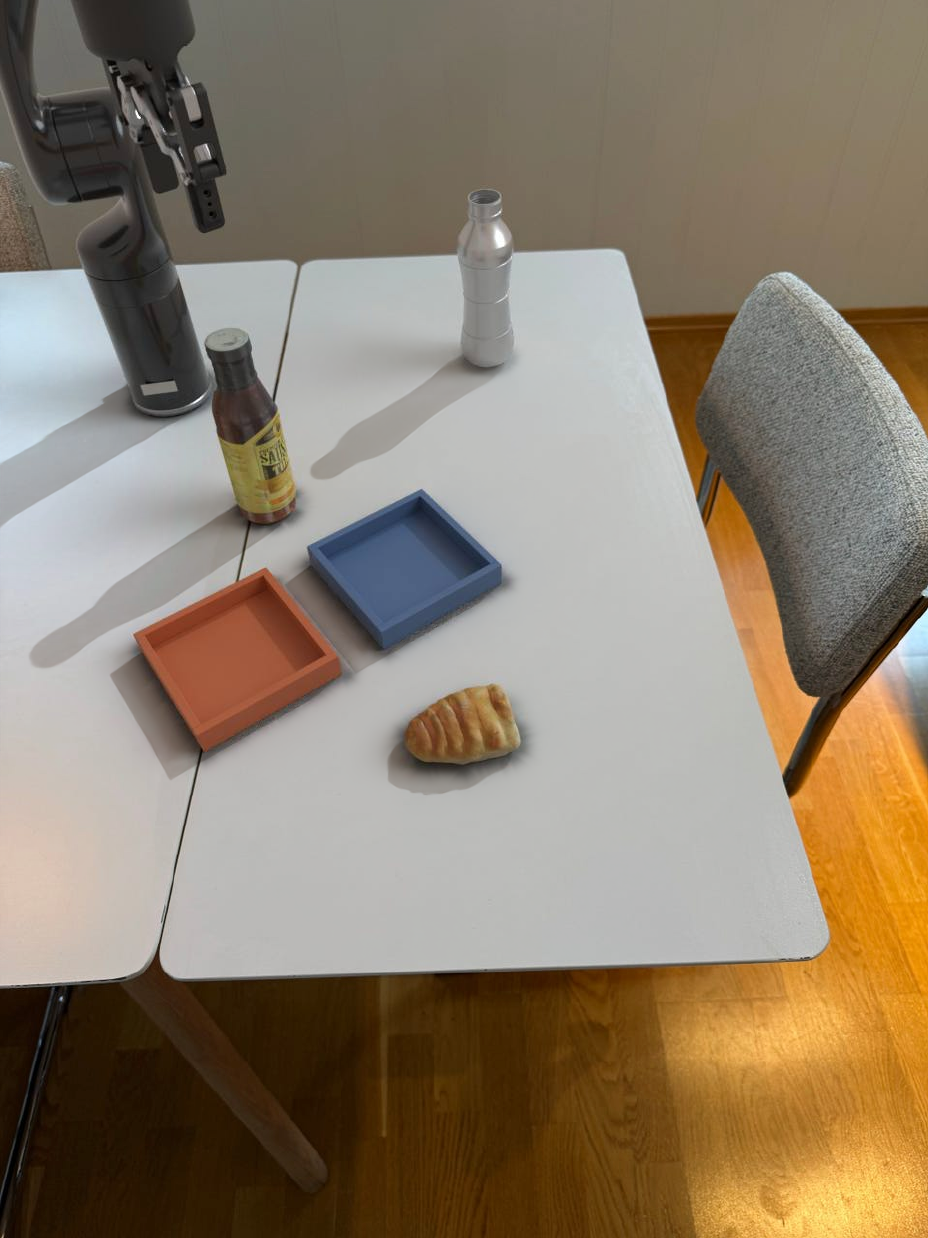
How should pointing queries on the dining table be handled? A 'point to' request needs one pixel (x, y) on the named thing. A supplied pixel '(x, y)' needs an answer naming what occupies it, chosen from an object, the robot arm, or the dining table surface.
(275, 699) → the terracotta tray
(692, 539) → the dining table surface
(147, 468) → the dining table surface
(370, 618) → the blue tray
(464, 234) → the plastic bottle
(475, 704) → the pastry
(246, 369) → the sauce bottle
